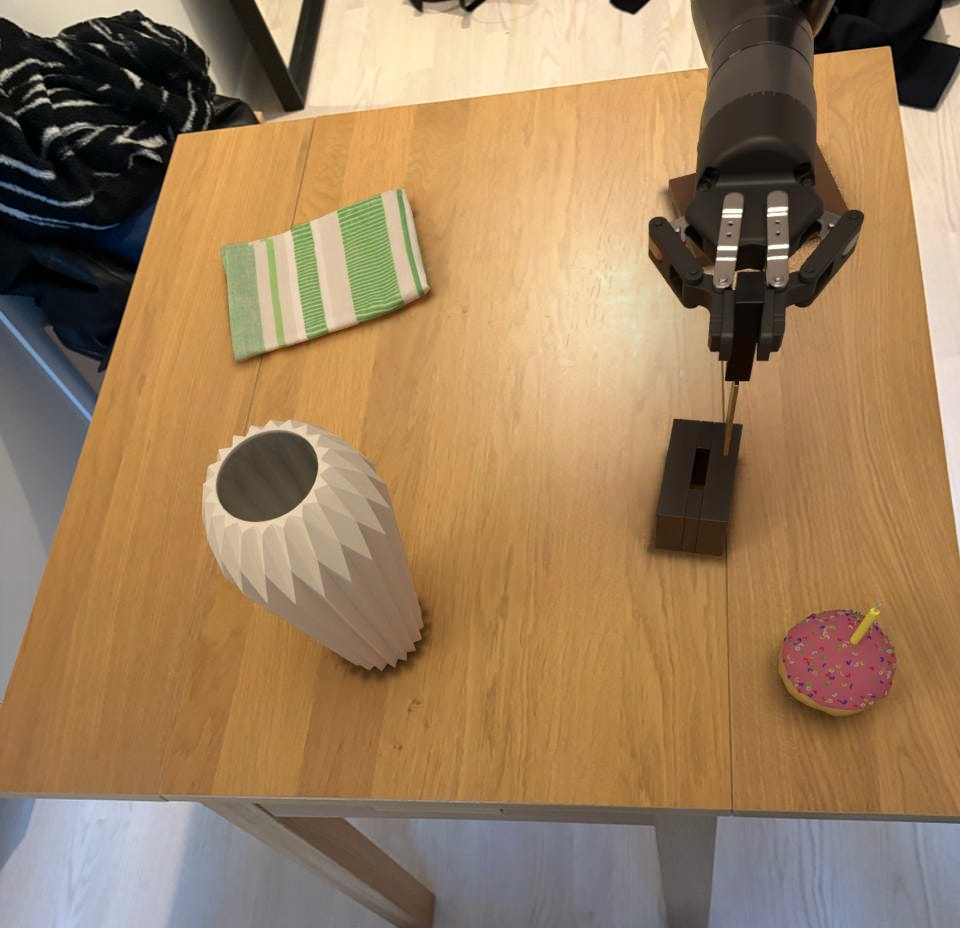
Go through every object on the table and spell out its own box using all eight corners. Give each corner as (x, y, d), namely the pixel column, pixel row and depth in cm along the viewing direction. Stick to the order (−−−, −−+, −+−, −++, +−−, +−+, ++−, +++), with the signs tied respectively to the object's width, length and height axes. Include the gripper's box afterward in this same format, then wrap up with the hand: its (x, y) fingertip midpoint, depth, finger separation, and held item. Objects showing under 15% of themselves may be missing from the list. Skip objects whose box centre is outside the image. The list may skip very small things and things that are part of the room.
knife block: (735, 462, 77) (743, 423, 72) (721, 556, 74) (728, 522, 68) (671, 456, 79) (673, 417, 73) (654, 548, 75) (656, 514, 70)
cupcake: (815, 614, 70) (848, 547, 59) (903, 676, 67) (954, 618, 56) (750, 684, 69) (771, 629, 58) (836, 751, 66) (875, 706, 55)
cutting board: (813, 153, 90) (816, 140, 89) (849, 230, 85) (852, 218, 84) (668, 191, 92) (668, 179, 90) (695, 268, 87) (696, 257, 85)
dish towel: (226, 256, 100) (216, 238, 98) (409, 199, 98) (403, 179, 96) (239, 366, 93) (228, 349, 91) (436, 306, 91) (431, 287, 89)
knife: (738, 422, 62) (765, 266, 48) (736, 456, 61) (764, 306, 47) (716, 422, 62) (737, 267, 49) (714, 455, 61) (735, 306, 48)
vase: (427, 712, 73) (324, 582, 49) (295, 682, 77) (139, 547, 53) (468, 580, 78) (391, 402, 54) (341, 557, 81) (216, 381, 57)
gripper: (651, 95, 53) (627, 306, 47) (881, 79, 50) (887, 303, 44) (650, 196, 60) (629, 391, 54) (852, 187, 57) (854, 394, 51)
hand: (745, 351), depth 49 cm, fingers closed on knife, 1 cm apart
